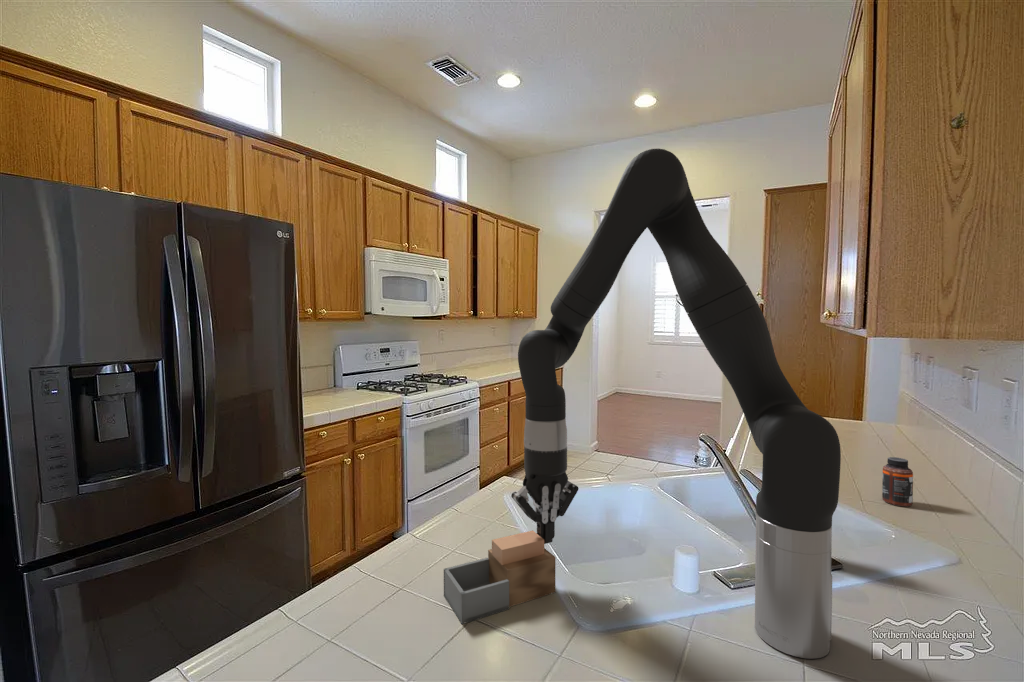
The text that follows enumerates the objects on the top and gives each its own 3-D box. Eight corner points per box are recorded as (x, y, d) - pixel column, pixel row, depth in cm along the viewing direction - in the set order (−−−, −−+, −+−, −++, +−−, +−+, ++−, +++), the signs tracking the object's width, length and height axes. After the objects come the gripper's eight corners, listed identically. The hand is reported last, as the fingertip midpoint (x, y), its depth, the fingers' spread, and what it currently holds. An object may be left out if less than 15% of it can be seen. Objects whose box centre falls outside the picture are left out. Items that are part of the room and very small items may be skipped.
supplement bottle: (919, 507, 113) (920, 462, 112) (894, 507, 113) (895, 462, 113) (899, 498, 119) (900, 455, 118) (876, 498, 119) (876, 455, 118)
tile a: (532, 544, 81) (532, 530, 81) (544, 554, 77) (544, 539, 77) (512, 549, 79) (512, 535, 79) (523, 559, 75) (523, 544, 75)
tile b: (512, 549, 79) (512, 535, 79) (523, 559, 75) (523, 544, 75) (491, 554, 77) (491, 539, 77) (501, 565, 74) (501, 549, 73)
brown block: (533, 571, 83) (533, 538, 83) (555, 592, 76) (555, 557, 76) (488, 583, 79) (488, 549, 79) (507, 607, 72) (507, 570, 72)
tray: (487, 583, 79) (487, 557, 79) (509, 609, 72) (509, 581, 72) (443, 595, 75) (443, 568, 75) (461, 624, 68) (461, 594, 68)
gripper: (522, 453, 73) (522, 559, 74) (589, 444, 79) (589, 542, 80) (502, 443, 80) (502, 540, 80) (565, 435, 86) (565, 525, 86)
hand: (545, 541), depth 80 cm, fingers closed
